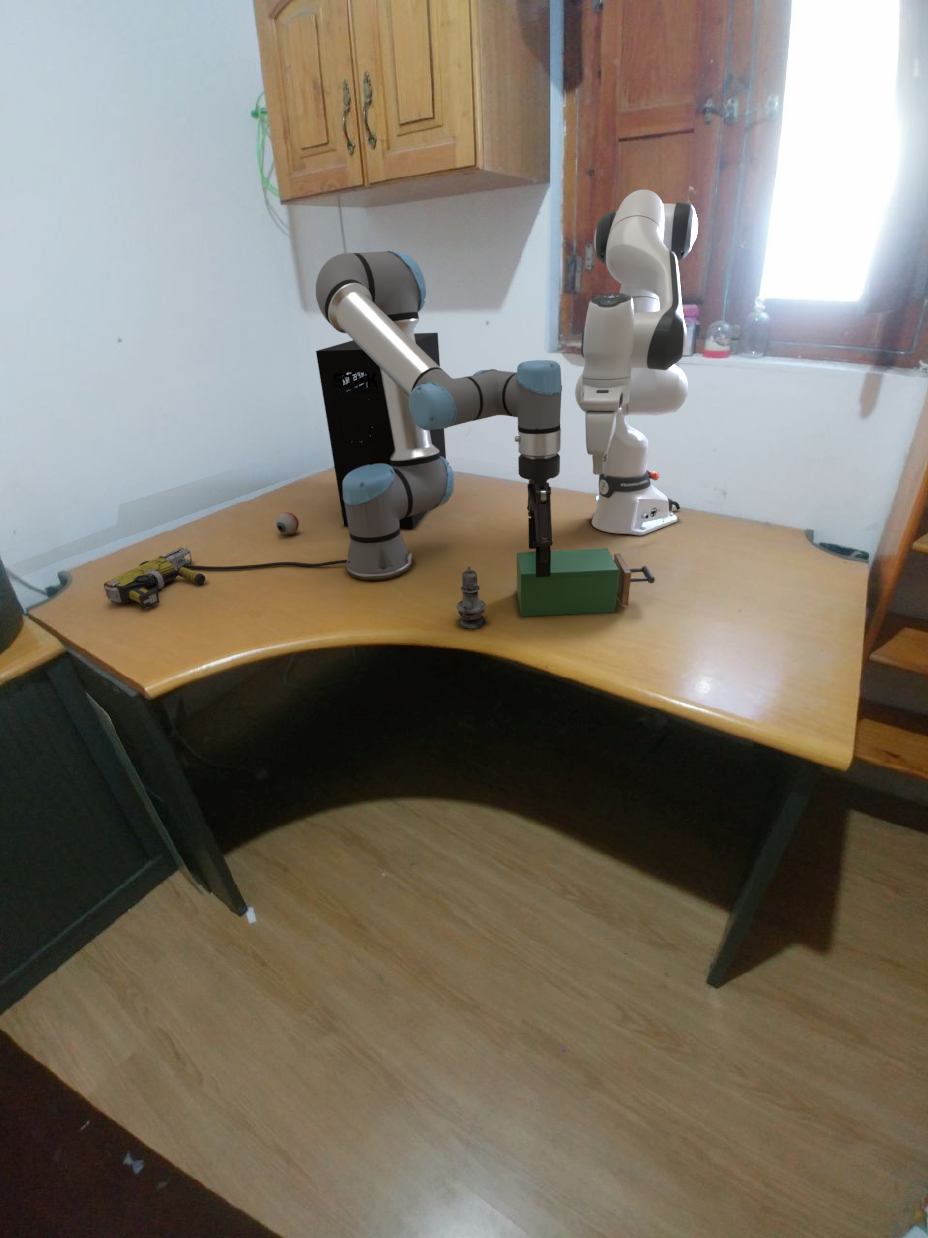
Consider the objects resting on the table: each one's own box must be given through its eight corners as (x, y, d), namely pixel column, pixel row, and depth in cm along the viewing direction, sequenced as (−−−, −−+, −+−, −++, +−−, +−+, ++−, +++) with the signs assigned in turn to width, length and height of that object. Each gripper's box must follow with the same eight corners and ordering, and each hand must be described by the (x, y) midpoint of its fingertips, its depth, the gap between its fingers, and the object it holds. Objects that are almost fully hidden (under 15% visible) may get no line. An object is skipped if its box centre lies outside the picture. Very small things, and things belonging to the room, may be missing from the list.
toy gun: (228, 555, 146) (178, 544, 150) (153, 596, 126) (97, 583, 130) (231, 573, 149) (181, 562, 153) (157, 616, 129) (102, 602, 132)
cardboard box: (413, 528, 164) (395, 348, 141) (344, 526, 168) (315, 350, 146) (447, 485, 195) (437, 332, 173) (388, 484, 200) (371, 334, 177)
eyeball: (273, 537, 164) (268, 516, 161) (287, 528, 169) (282, 508, 166) (291, 539, 161) (286, 518, 158) (305, 530, 166) (301, 510, 163)
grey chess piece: (484, 630, 116) (481, 573, 110) (454, 628, 117) (450, 572, 111) (489, 614, 121) (487, 560, 115) (460, 613, 122) (457, 559, 116)
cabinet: (604, 588, 128) (607, 547, 124) (615, 612, 119) (618, 569, 115) (516, 592, 129) (516, 552, 124) (521, 616, 120) (520, 574, 115)
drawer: (643, 583, 127) (646, 551, 124) (655, 604, 119) (659, 571, 116) (535, 588, 128) (536, 557, 124) (540, 609, 120) (541, 576, 116)
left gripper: (513, 439, 120) (515, 538, 130) (524, 474, 98) (525, 590, 109) (550, 436, 120) (549, 536, 130) (570, 471, 98) (567, 588, 108)
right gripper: (593, 384, 122) (589, 453, 128) (581, 402, 104) (577, 480, 111) (625, 384, 120) (620, 454, 127) (618, 402, 103) (612, 482, 109)
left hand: (539, 561), depth 119 cm, fingers open, 13 cm apart
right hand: (600, 466), depth 119 cm, fingers open, 8 cm apart
